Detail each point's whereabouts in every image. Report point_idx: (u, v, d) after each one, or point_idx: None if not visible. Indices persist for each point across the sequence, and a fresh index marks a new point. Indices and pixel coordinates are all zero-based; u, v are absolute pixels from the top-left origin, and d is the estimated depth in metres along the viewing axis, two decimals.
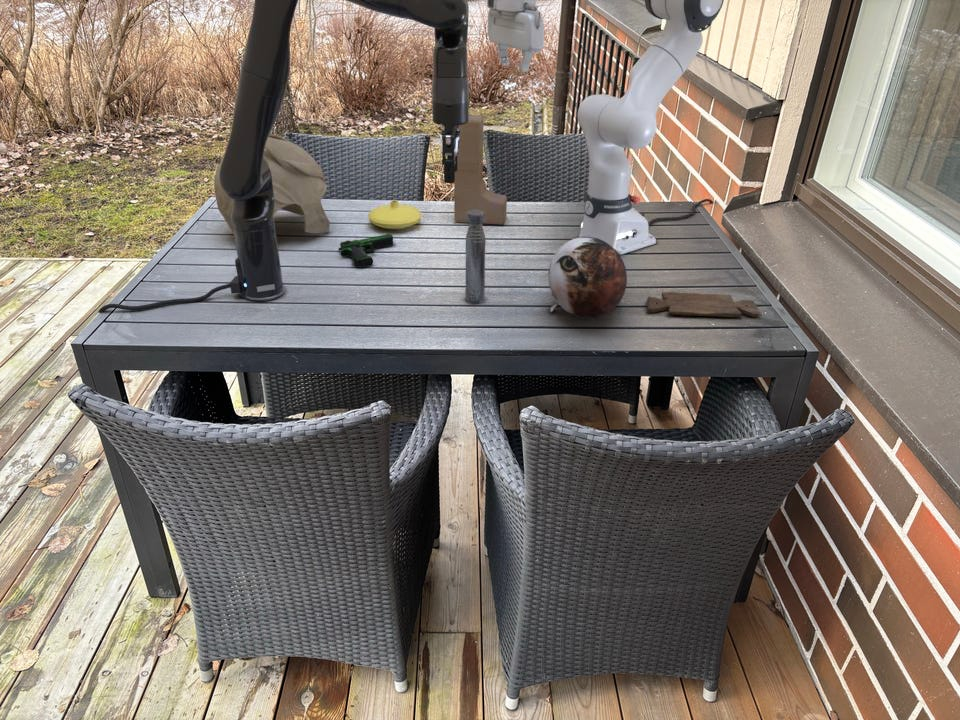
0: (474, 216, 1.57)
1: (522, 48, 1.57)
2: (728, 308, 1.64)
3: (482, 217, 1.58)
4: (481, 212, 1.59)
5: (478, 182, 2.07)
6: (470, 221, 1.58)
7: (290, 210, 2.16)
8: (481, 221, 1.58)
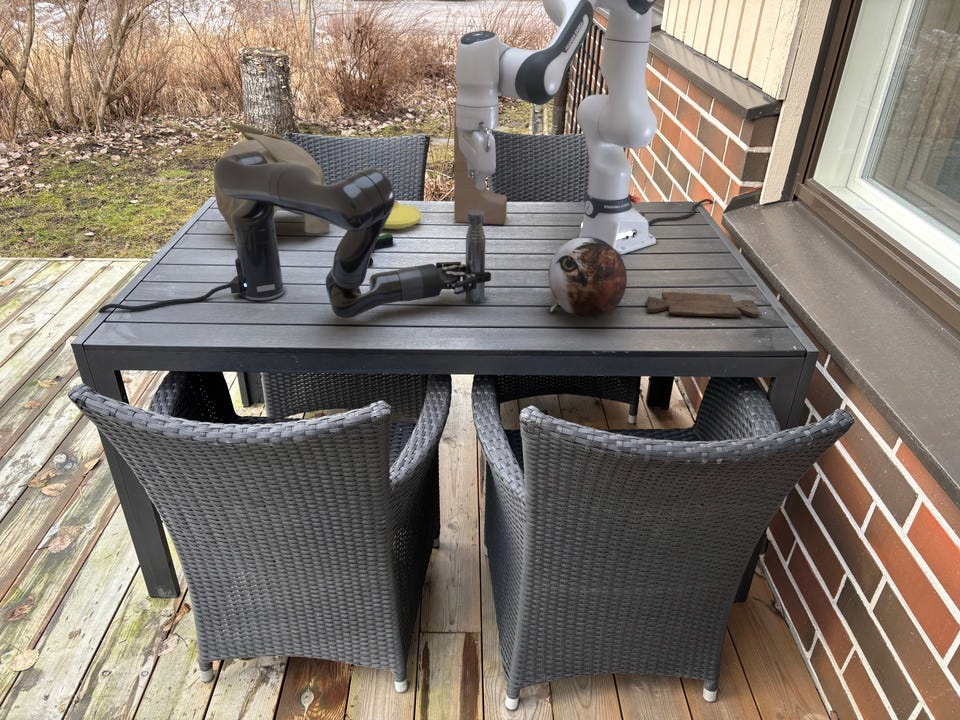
0: (474, 216, 1.57)
1: (475, 168, 1.47)
2: (728, 308, 1.64)
3: (482, 217, 1.58)
4: (481, 212, 1.59)
5: None
6: (470, 221, 1.58)
7: None
8: (481, 221, 1.58)
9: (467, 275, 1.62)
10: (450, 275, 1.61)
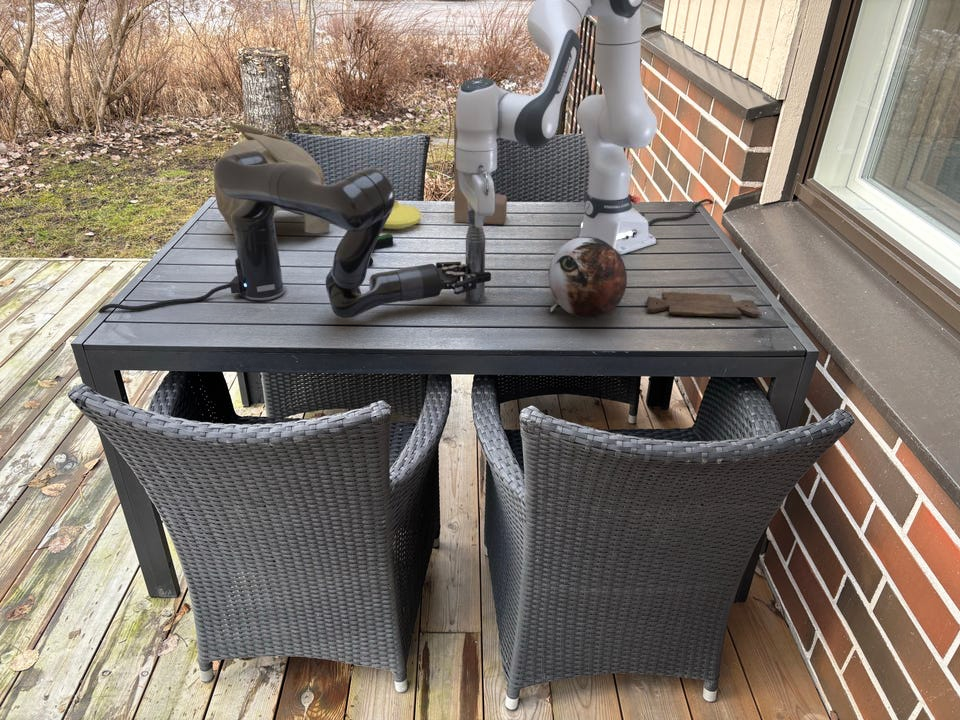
0: (474, 216, 1.57)
1: (474, 210, 1.51)
2: (728, 308, 1.64)
3: None
4: None
5: None
6: (470, 221, 1.58)
7: None
8: None
9: (467, 275, 1.62)
10: (450, 275, 1.61)
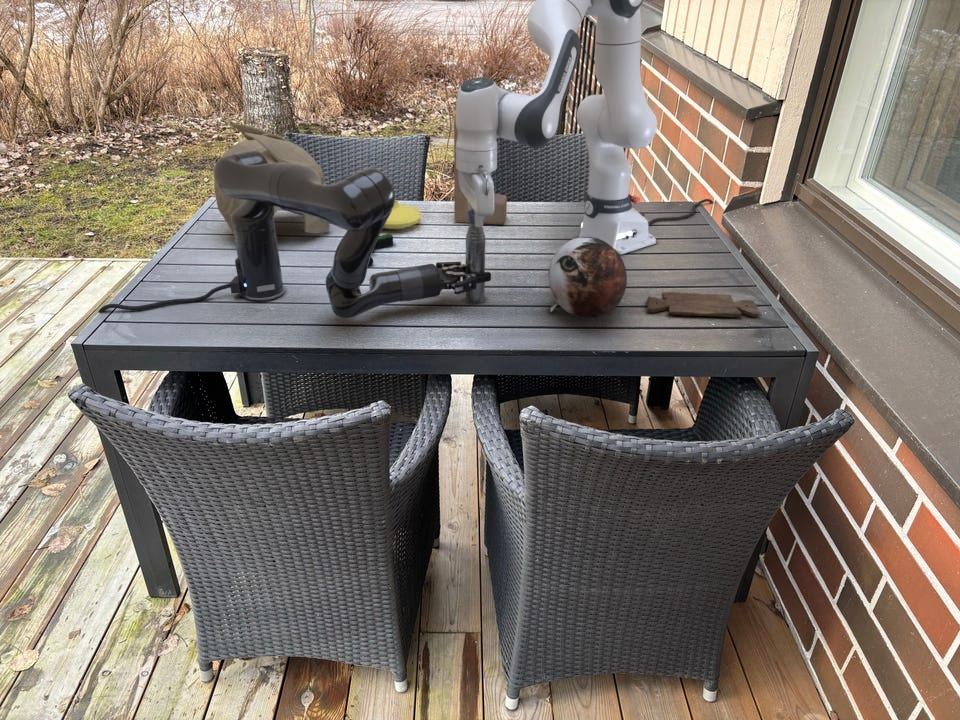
0: None
1: (474, 210, 1.51)
2: (728, 308, 1.64)
3: None
4: None
5: None
6: None
7: None
8: None
9: (467, 275, 1.62)
10: (450, 275, 1.61)
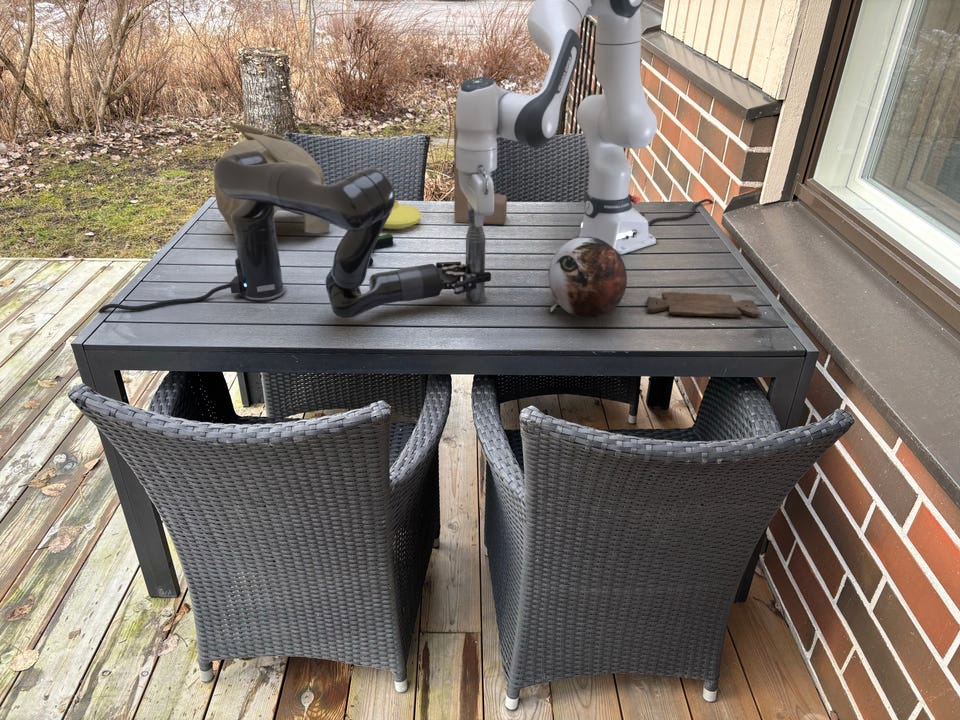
0: None
1: (474, 209, 1.51)
2: (728, 308, 1.64)
3: None
4: (471, 210, 1.59)
5: None
6: None
7: None
8: None
9: (467, 275, 1.62)
10: (450, 275, 1.61)
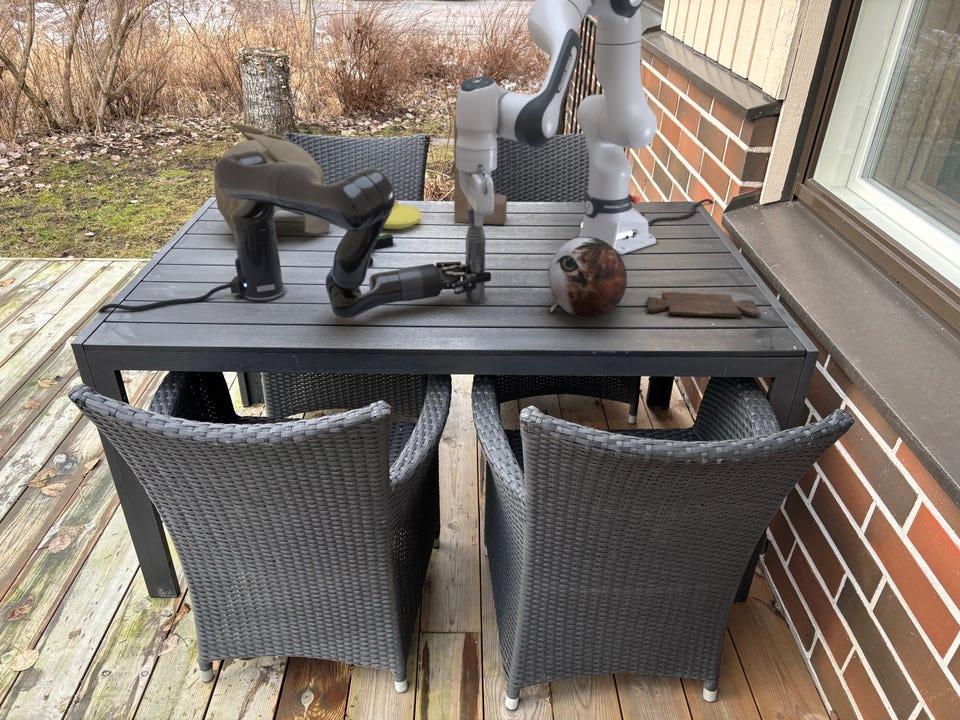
0: None
1: (474, 209, 1.51)
2: (728, 308, 1.64)
3: (467, 214, 1.59)
4: (471, 212, 1.58)
5: None
6: None
7: None
8: (467, 217, 1.59)
9: (467, 275, 1.62)
10: (450, 275, 1.61)
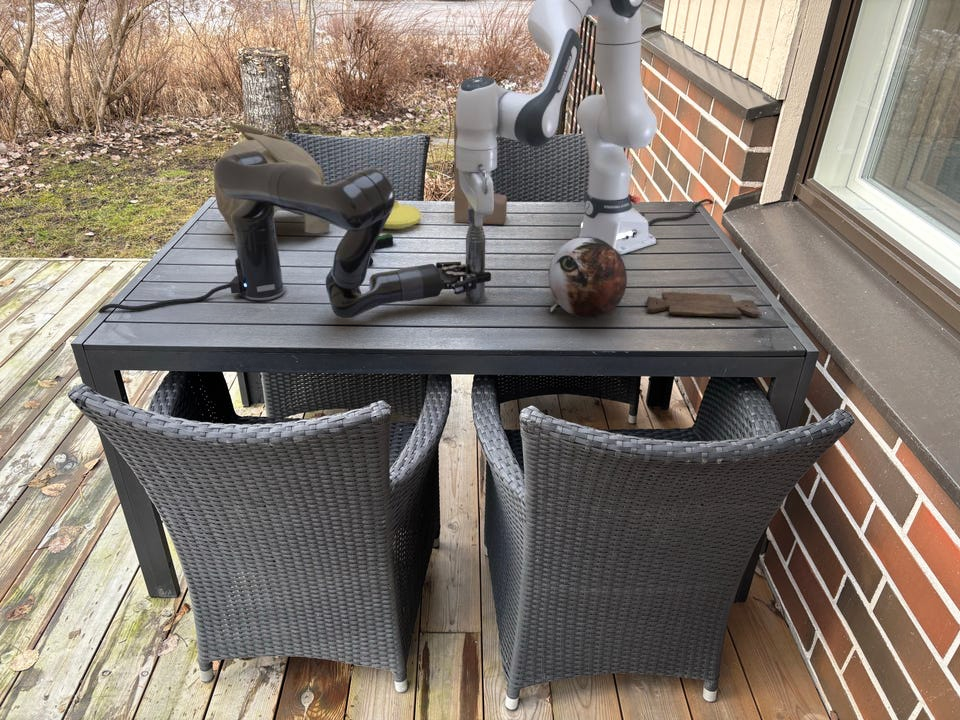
0: (467, 213, 1.58)
1: (474, 209, 1.51)
2: (728, 308, 1.64)
3: None
4: None
5: None
6: None
7: None
8: (472, 220, 1.58)
9: (467, 275, 1.62)
10: (450, 275, 1.61)
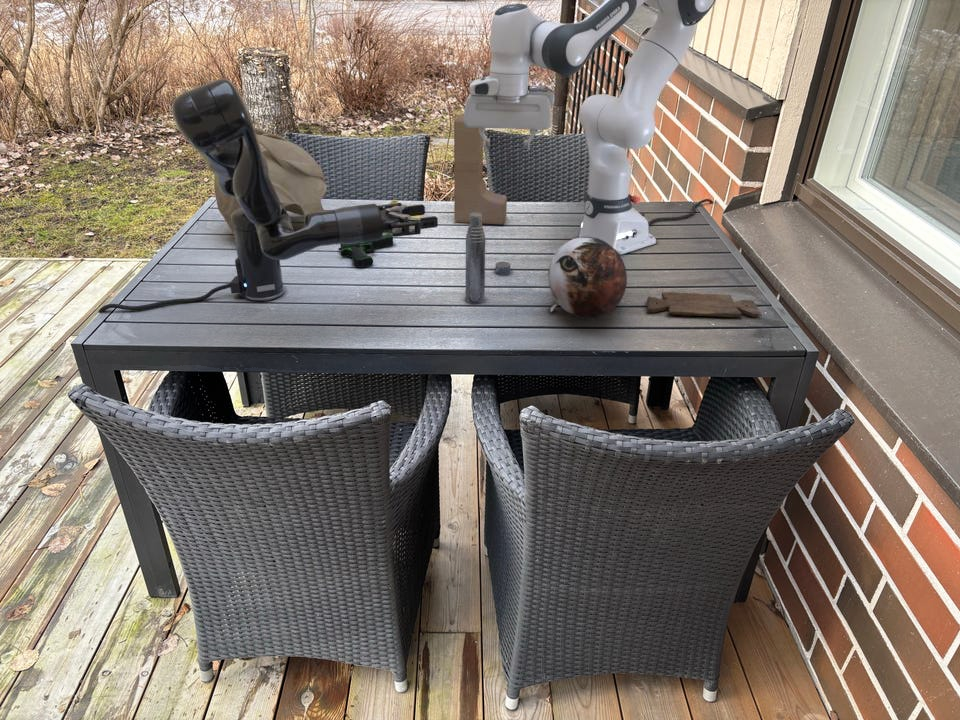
0: None
1: (536, 127, 1.63)
2: (728, 308, 1.64)
3: None
4: (503, 262, 1.84)
5: (478, 182, 2.07)
6: (508, 272, 1.82)
7: (290, 210, 2.16)
8: None
9: (410, 218, 1.48)
10: (392, 216, 1.49)
